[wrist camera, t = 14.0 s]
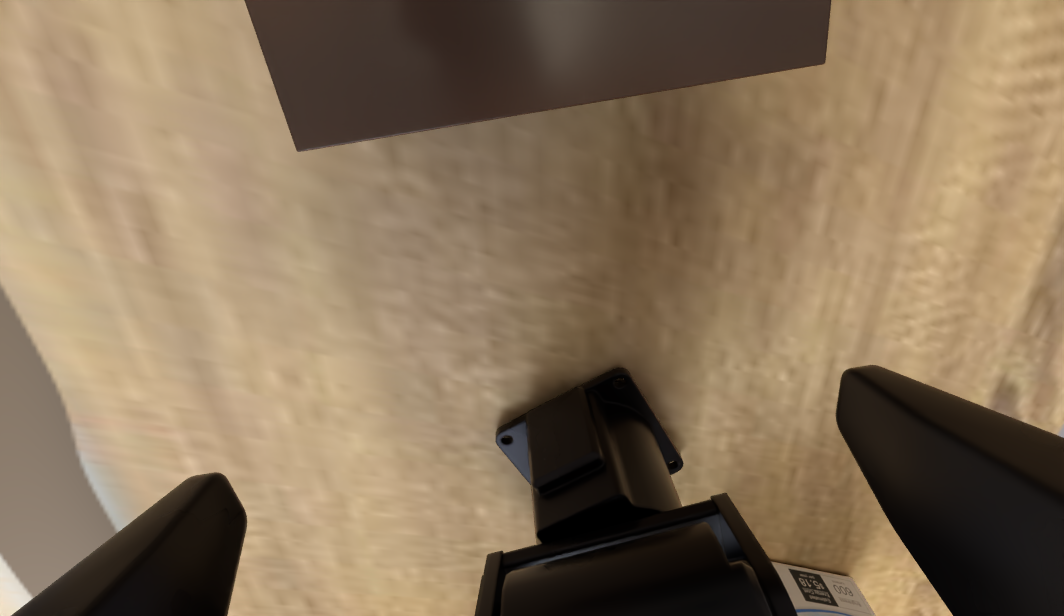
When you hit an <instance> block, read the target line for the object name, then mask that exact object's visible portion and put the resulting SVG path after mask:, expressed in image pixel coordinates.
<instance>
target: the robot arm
mask: <svg viewBox="0 0 1064 616" xmlns="http://www.w3.org/2000/svg"><path fill="white" fill-rule="evenodd" d="M618 378H624V379H623V380H622V381H621V382H615V380H617V379H618ZM836 421H837V425H838V428H839V430H840V432H841V434H842V436H843V438H844V440H845V442H846V443H847V445H848V447H849V449H850V451H851V453H852V454H853V456H854V458H855V460H856V462H857V464H858V465H859V467H860V469H861V471H862V473H863V475H864V477H865V478H866V480H867V482H868V484H869V486H870V488H871V489H872V491H873V493H874V495H875V497H876V499H877V500H878V502H879V504H880V506H881V508H882V510H883V511H884V513H885V515H886V516H887V518H888V520H889V522H890V523H891V525H892V526H893V528H894V530H895V531H896V533H897V534H898V536H899V537H900V539H901V540H902V542H903V543H904V545H905V546H906V548H907V549H908V551H909V552H910V553H911V555H912V556H913V558H914V559H915V561H916V562H917V564H918V565H919V567H920V568H921V569H922V571H923V572H924V574H925V575H926V577H927V578H928V580H929V581H930V583H931V584H932V585H933V587H934V588H935V590H936V591H937V593H938V594H939V596H940V597H941V599H942V600H943V601H944V603H945V604H946V606H947V607H948V609H949V610H950V612H951V613H952V615H953V616H1064V438H1062V437H1060V436H1058V435H1055V434H1052V433H1050V432H1047V431H1045V430H1042V429H1040V428H1037V427H1034V426H1032V425H1029V424H1027V423H1024V422H1022V421H1019V420H1016V419H1014V418H1011V417H1009V416H1006V415H1004V414H1001V413H998V412H996V411H993V410H991V409H988V408H986V407H983V406H980V405H978V404H975V403H973V402H970V401H967V400H965V399H962V398H960V397H957V396H955V395H952V394H949V393H947V392H944V391H942V390H939V389H937V388H934V387H931V386H929V385H926V384H924V383H921V382H919V381H916V380H913V379H911V378H908V377H906V376H903V375H900V374H898V373H895V372H893V371H890V370H888V369H885V368H882V367H880V366H877V365H868V366H862V367H856V368H850V369H847V370H846V371H844V373H843V374H842V377H841V381H840V388H839V395H838V402H837V409H836ZM504 436H511V437H510V438H503V437H504ZM496 443H497V445H498V446H499V448H500V449H501V450H502V451H503V452H504V454H505V455H506V456H507V457H508V458H509V460H510V461H511V462H512V463H513V464H514V466H515V467H516V468H517V469H518V470H519V471H520V473H521V474H522V475H523V476H524V477H525V479H526V480H527V481H528V482H529V483H530V485H531V491H532V502H533V513H534V524H535V535H536V545H533V546H529V547H525V548H522V549H518V550H514V551H510V552H506V553H503V551H499V552H495V553H491V554H488V555H487V559H486V564H485V570H484V575H482V579H481V584H480V589H479V595H478V600H477V606H476V611H475V616H798V615H797V612H796V610H795V608H794V605H793V603H792V601H791V599H790V597H789V594H788V592H787V590H786V588H785V586H784V584H783V582H782V580H781V578H780V576H779V574H778V573H777V571H776V569H775V568H774V566H773V564H772V563H771V561H770V559H769V558H768V556H767V555H766V553H765V552H764V550H763V549H762V547H761V546H760V544H759V543H758V541H757V539H756V538H755V536H754V535H753V533H752V532H751V530H750V529H749V527H748V526H747V524H746V523H745V521H744V519H743V518H742V516H741V515H740V513H739V512H738V510H737V509H736V507H735V506H734V504H733V503H732V501H731V499H730V498H729V496H728V495H727V493H722V494H718V495H714V496H711V500H707V501H703V502H699V503H695V504H691V505H687V506H684V507H682V504H681V502H680V499H679V496H678V494H677V491H676V489H675V486H674V484H673V481H672V479H671V476H670V475H671V474H674V473H676V472H678V471H679V470H681V468H682V467H683V464H684V463H683V460H682V458H681V456H680V454H679V452H678V450H677V449H676V447H675V446H674V444H673V442H672V441H671V439H670V437H669V436H668V434H667V433H666V431H665V429H664V428H663V426H662V425H661V423H660V421H659V420H658V418H657V416H656V415H655V413H654V412H653V410H652V408H651V407H650V405H649V404H648V402H647V400H646V399H645V397H644V395H643V394H642V392H641V391H640V389H639V387H638V386H637V384H636V383H635V381H634V379H633V378H632V376H631V374H630V373H629V372H628V371H627V370H626V369H624V368H615V369H612V370H610V371H608V372H607V373H605V374H603V375H601V376H599V377H597V378H595V379H593V380H591V381H589V382H587V383H585V384H583V385H581V386H579V387H576V388H574V389H572V390H570V391H568V392H566V393H564V394H562V395H560V396H558V397H556V398H554V399H552V400H550V401H548V402H546V403H544V404H542V405H541V406H539V407H537V408H535V409H533V410H531V411H529V412H528V413H526V414H524V415H523V416H521V417H519V418H517V419H515V420H513V421H511V422H509V423H507V424H505V425H503V426H501V427H500V428H498V429H497V431H496ZM671 461H674V462H672V463H669V462H671ZM246 528H247V516H246V512H245V509H244V507H243V506H242V504H241V502H240V500H239V499H238V497H237V495H236V493H235V492H234V490H233V488H232V486H231V485H230V483H229V481H228V479H227V478H226V476H224V475H223V474H221V473H217V472H215V473H209V474H202V475H196V476H192V477H190V478H188V479H186V480H185V481H184V482H182V483H181V484H180V485H179V486H177V487H176V488H175V489H173V490H172V491H171V492H170V493H168V494H167V495H166V496H164V497H163V498H162V499H161V500H159V501H158V502H157V503H155V504H154V505H153V506H152V507H150V508H149V509H148V510H146V511H145V512H144V513H143V514H141V515H140V516H139V517H137V518H136V519H135V520H134V521H132V522H131V523H130V524H128V525H127V526H126V527H125V528H123V529H122V530H121V531H119V532H118V533H117V534H116V535H114V536H113V537H112V538H110V539H109V540H108V541H107V542H105V543H104V544H103V545H101V546H100V547H99V548H98V549H96V550H95V551H94V552H92V553H91V554H90V555H89V556H87V557H86V558H85V559H83V560H82V561H81V562H79V563H78V564H77V565H76V566H74V567H73V568H72V569H71V570H69V571H68V572H67V573H65V574H64V575H63V576H61V577H60V578H59V579H58V580H56V581H55V582H54V583H52V584H51V585H50V586H49V587H48V588H46V589H45V590H43V591H42V592H41V593H40V594H39V595H37V596H36V597H34V598H33V599H32V600H31V601H29V602H28V603H27V604H25V605H24V606H23V607H22V608H20V609H19V610H18V611H16V612H15V613H14V614H13V615H11V616H227V614H228V610H229V605H230V601H231V596H232V592H233V587H234V582H235V578H236V573H237V569H238V564H239V560H240V555H241V551H242V546H243V542H244V537H245V533H246Z"/></svg>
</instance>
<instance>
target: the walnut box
mask: <svg viewBox="0 0 1064 616" xmlns="http://www.w3.org/2000/svg"><path fill="white" fill-rule="evenodd" d="M245 3H246V6H247V9H248V12H249V15H250V17H251V20H252V23H253V26H254V29H255V32H256V35H257V38H258V40H259V43H260V46H261V49H262V52H263V55H264V58H265V61H266V64H267V66H268V69H269V72H270V75H271V78H272V81H273V84H274V87H275V89H276V92H277V95H278V98H279V101H280V104H281V107H282V110H283V112H284V115H285V118H286V121H287V124H288V127H289V130H290V133H291V136H292V138H293V141H294V144H295V147H296V150H297V151H298V152H301V151H307V150H313V149H319V148H325V147H331V146H337V145H343V144H349V143H355V142H361V141H367V140H373V139H379V138H385V137H391V136H397V135H403V134H409V133H415V132H421V131H427V130H433V129H439V128H445V127H451V126H457V125H463V124H469V123H475V122H481V121H487V120H493V119H499V118H505V117H511V116H517V115H523V114H529V113H535V112H541V111H547V110H553V109H559V108H565V107H571V106H577V105H583V104H589V103H595V102H601V101H607V100H613V99H619V98H625V97H631V96H637V95H643V94H649V93H655V92H661V91H667V90H673V89H679V88H685V87H691V86H697V85H703V84H708V83H714V82H720V81H726V80H732V79H738V78H744V77H750V76H756V75H762V74H768V73H774V72H780V71H786V70H792V69H798V68H804V67H810V66H816V65H822V64H824V63H825V60H826V49H827V39H828V29H829V18H830V8H831V0H245Z"/></svg>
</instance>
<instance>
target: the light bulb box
mask: <svg viewBox="0 0 1064 616" xmlns="http://www.w3.org/2000/svg"><path fill="white" fill-rule="evenodd" d="M771 563H772V564H773V566H774V568H775V569H776V571H777V573H778V574H779V576H780V578H781V580H782V582H783V584H784V586H785V588H786V590H787V592H788V594H789V597H790V599H791V601H792V603H793V605H794V608H795V610H796V612H797V615H798V616H876V615H875V613H874V612H873V610H872V609H871V607H870V605H869V604H868V602H867V601H866V599H865V597H864V596H863V594H862V592H861V591H860V589H859V588H858V586H857V585H856V583H855V581H854V580H853V578H851V577H847V576H841V575H836V574H832V573H827V572H822V571H817V570H812V569H807V568H802V567H797V566H792V565H787V564H781V563H776V562H772V561H771Z"/></svg>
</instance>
